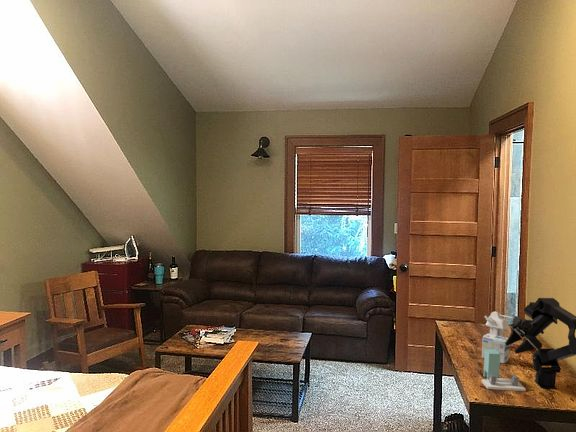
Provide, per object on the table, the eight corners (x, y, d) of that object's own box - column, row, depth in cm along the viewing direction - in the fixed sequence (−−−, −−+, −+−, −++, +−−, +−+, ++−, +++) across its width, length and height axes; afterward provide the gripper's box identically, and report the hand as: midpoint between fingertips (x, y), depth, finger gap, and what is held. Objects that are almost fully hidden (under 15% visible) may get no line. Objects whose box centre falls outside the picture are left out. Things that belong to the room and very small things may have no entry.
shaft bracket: (518, 383, 195) (519, 373, 195) (525, 391, 188) (526, 380, 188) (481, 381, 196) (482, 371, 196) (487, 388, 189) (488, 378, 189)
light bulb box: (509, 360, 221) (510, 338, 220) (504, 364, 216) (505, 341, 215) (486, 354, 228) (487, 332, 227) (480, 357, 223) (482, 335, 222)
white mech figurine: (506, 353, 229) (509, 317, 228) (479, 346, 238) (481, 312, 237) (514, 347, 238) (516, 313, 237) (487, 340, 247) (489, 307, 246)
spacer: (494, 376, 202) (495, 349, 201) (498, 381, 197) (500, 354, 196) (483, 375, 202) (485, 349, 201) (487, 381, 197) (489, 353, 196)
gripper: (516, 304, 205) (489, 328, 207) (536, 317, 187) (506, 342, 188) (533, 322, 206) (506, 345, 207) (555, 337, 187) (525, 362, 189)
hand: (510, 348), depth 198 cm, fingers open, 9 cm apart
